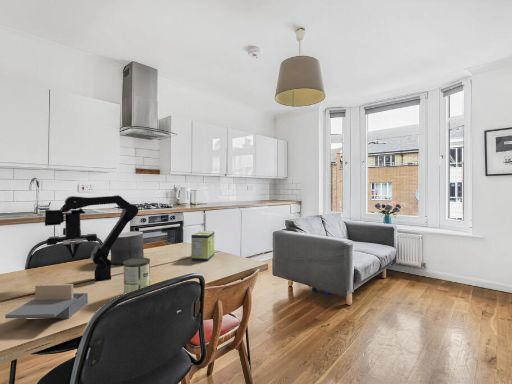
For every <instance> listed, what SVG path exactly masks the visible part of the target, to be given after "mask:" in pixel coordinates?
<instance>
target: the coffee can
mask: <svg viewBox="0 0 512 384" xmlns="http://www.w3.org/2000/svg"><path fill="white" fill-rule="evenodd" d="M150 265H151V259H150V258H148V257H144V258H132V259H128V260H125V261H124V262H123V295H124V294H125V293H128V292H131V291H134V290H137V289H140V288H143V287H146V286H149V285H150V286H151V275H150V273H151V266H150Z"/></svg>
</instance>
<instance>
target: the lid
mask: <svg viewBox="0 0 512 384" xmlns="http://www.w3.org/2000/svg"><path fill="white" fill-rule="evenodd" d="M34 289H35V292H34V293H35V296H34V297H35V298H33V299H31V300H30V301H27V302H26V303H24V304H23V305H20V306H19V307H17V308H16V309H14V310H12V311H10V312H8V313H7V314H5V316H4V317H5V318H4V319H26V318H41V317H55V316H57V315H58V314H59V313H61V312H62V311H63V310H65V309H66V308H67V307H69V306H70V305H71V304H73V303H74V302H75V301H77V298H73V293H74V283H53V284H52V283H49V284H45V283H44V284H43V283H42V284H36V285H35V288H34Z"/></svg>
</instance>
